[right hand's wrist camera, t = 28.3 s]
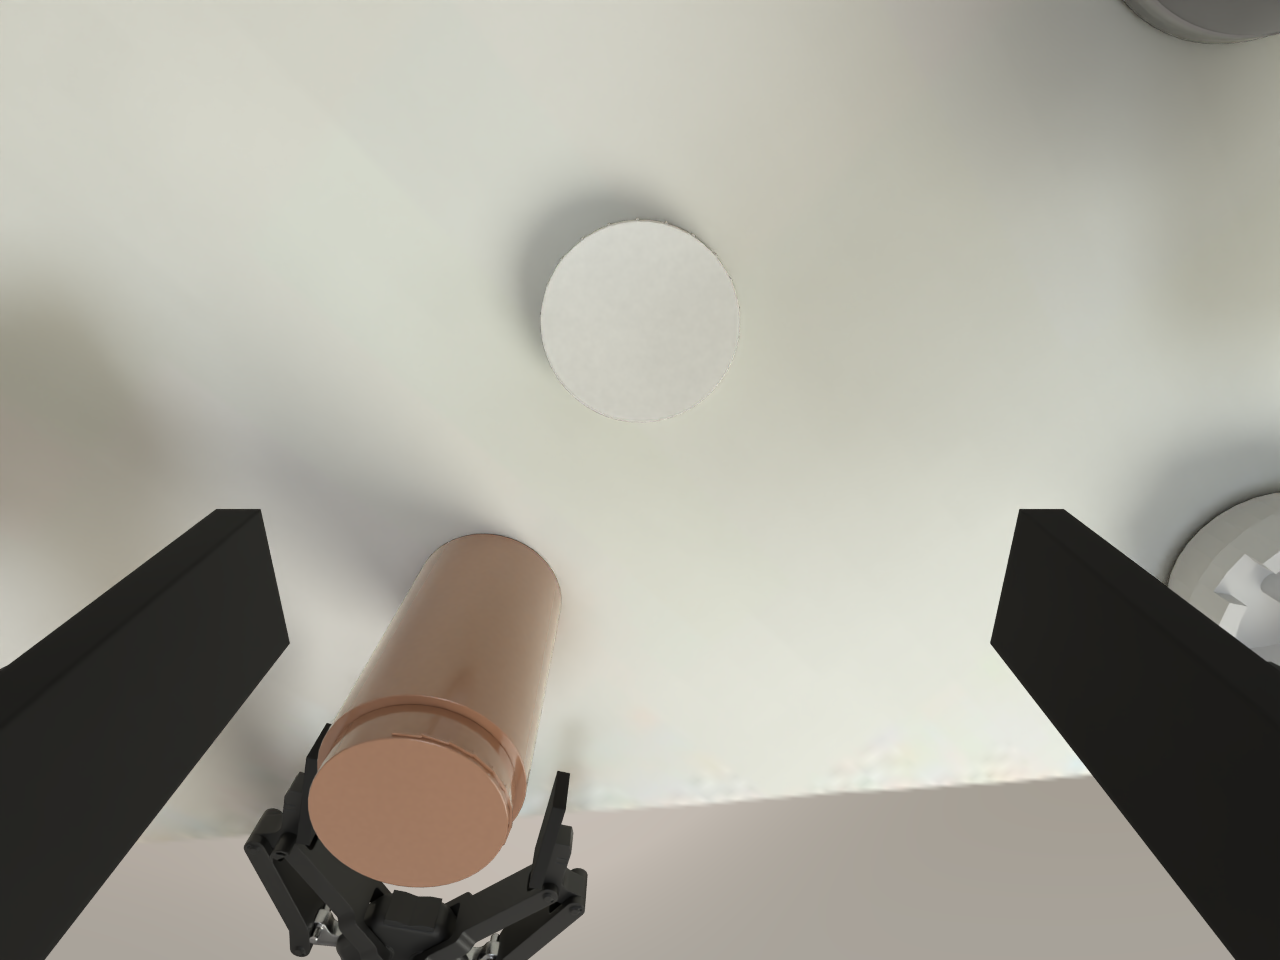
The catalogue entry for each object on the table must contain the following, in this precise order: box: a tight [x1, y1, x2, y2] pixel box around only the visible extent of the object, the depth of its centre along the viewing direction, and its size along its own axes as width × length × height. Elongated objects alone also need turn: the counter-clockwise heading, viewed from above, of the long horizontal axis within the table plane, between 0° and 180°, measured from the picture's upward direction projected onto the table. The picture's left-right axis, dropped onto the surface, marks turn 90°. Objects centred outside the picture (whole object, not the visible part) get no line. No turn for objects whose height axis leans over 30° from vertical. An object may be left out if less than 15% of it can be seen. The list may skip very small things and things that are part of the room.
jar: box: [308, 534, 561, 887], centre depth 37 cm, size 9×9×17 cm
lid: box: [540, 218, 740, 422], centre depth 37 cm, size 10×10×2 cm
